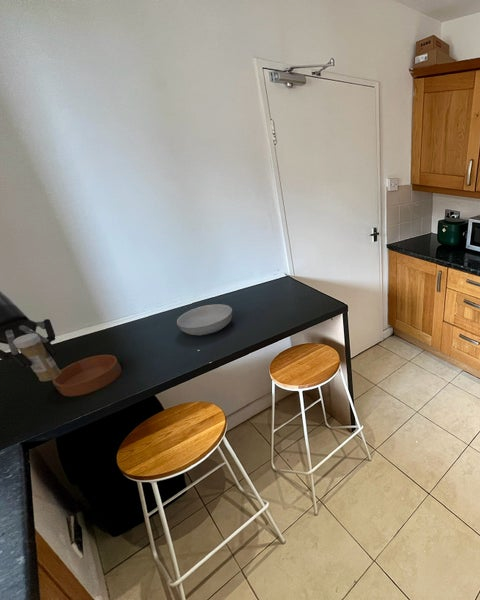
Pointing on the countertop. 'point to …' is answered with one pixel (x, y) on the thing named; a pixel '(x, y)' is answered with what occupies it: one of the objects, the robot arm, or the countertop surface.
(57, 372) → the sprinkles bottle
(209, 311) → the serving bowl
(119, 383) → the countertop surface
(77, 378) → the pan
